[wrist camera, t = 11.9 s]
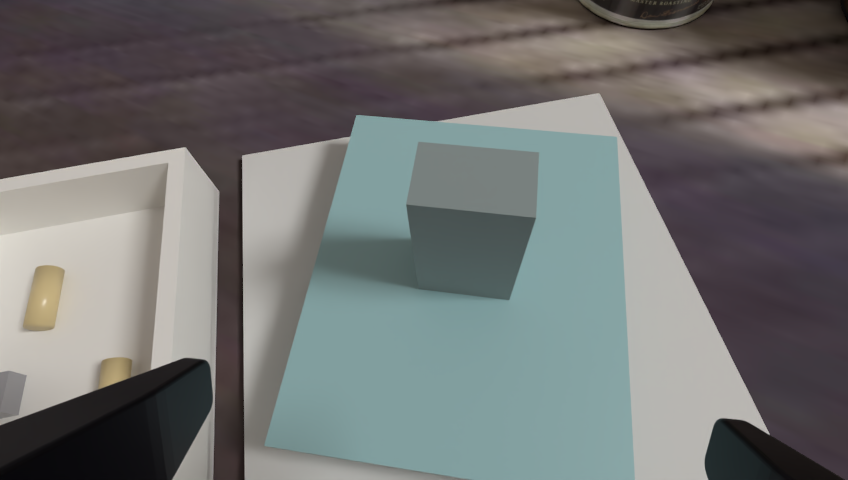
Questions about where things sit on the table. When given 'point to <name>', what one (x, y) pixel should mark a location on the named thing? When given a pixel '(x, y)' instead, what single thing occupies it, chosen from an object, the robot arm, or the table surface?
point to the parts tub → (107, 281)
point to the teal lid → (466, 308)
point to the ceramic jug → (845, 7)
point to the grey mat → (644, 292)
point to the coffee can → (648, 12)
